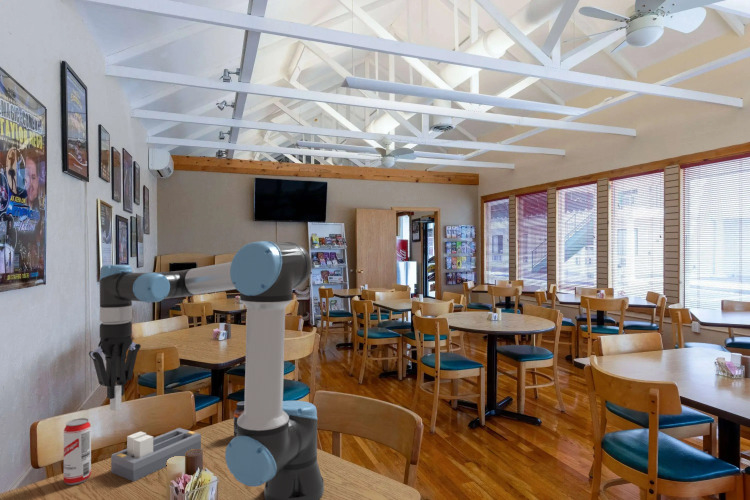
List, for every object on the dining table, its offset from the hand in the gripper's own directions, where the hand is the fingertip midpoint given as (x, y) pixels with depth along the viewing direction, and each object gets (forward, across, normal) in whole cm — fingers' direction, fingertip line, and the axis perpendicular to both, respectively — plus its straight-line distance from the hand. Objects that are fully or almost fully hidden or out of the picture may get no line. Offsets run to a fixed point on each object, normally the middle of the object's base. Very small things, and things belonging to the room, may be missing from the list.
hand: (115, 409), depth 120 cm
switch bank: (+20, -14, -2) cm, 24 cm away
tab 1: (+17, -8, -4) cm, 19 cm away
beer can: (+20, +4, -11) cm, 23 cm away
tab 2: (+17, -8, 0) cm, 18 cm away
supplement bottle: (+20, -39, +7) cm, 44 cm away
